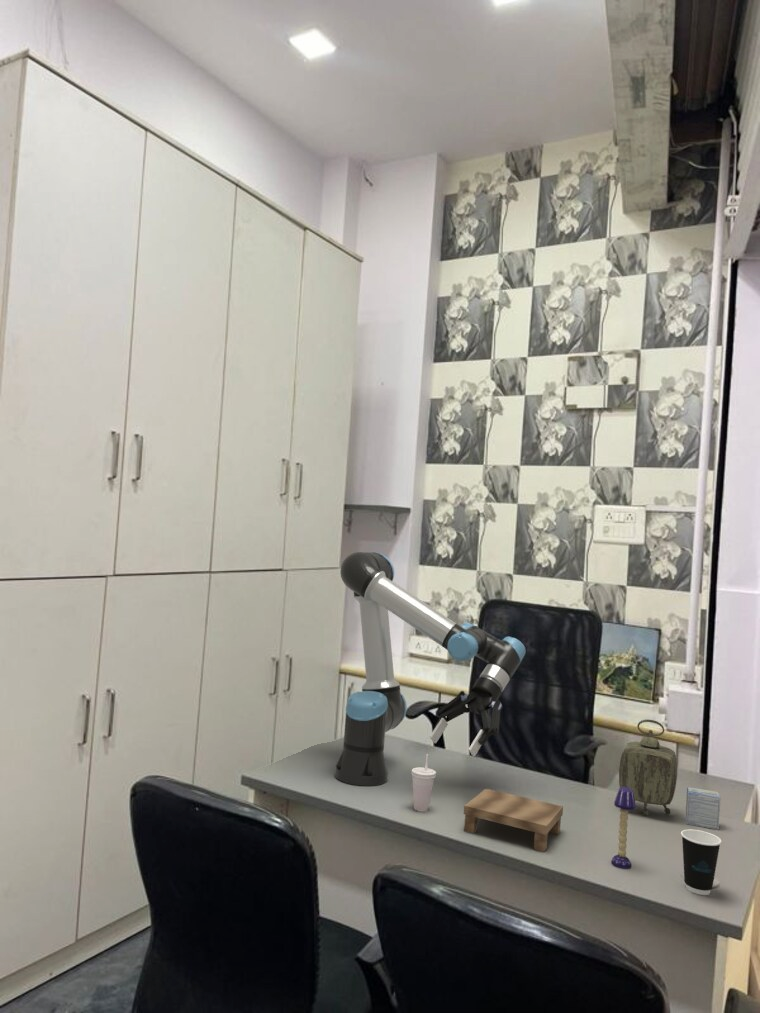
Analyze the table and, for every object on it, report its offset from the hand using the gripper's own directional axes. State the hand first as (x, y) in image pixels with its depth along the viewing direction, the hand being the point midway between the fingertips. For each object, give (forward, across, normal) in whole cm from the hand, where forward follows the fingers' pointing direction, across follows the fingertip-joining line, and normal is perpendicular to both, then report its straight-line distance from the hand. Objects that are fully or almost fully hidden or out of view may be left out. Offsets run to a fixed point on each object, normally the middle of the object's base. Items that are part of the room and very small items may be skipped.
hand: (451, 746), depth 197 cm
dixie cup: (+5, -63, -16) cm, 65 cm away
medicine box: (-23, -46, -46) cm, 69 cm away
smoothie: (+17, +1, -4) cm, 18 cm away
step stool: (+11, -21, -10) cm, 26 cm away
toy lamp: (+7, -47, -15) cm, 50 cm away
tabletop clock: (-19, -34, -42) cm, 57 cm away
